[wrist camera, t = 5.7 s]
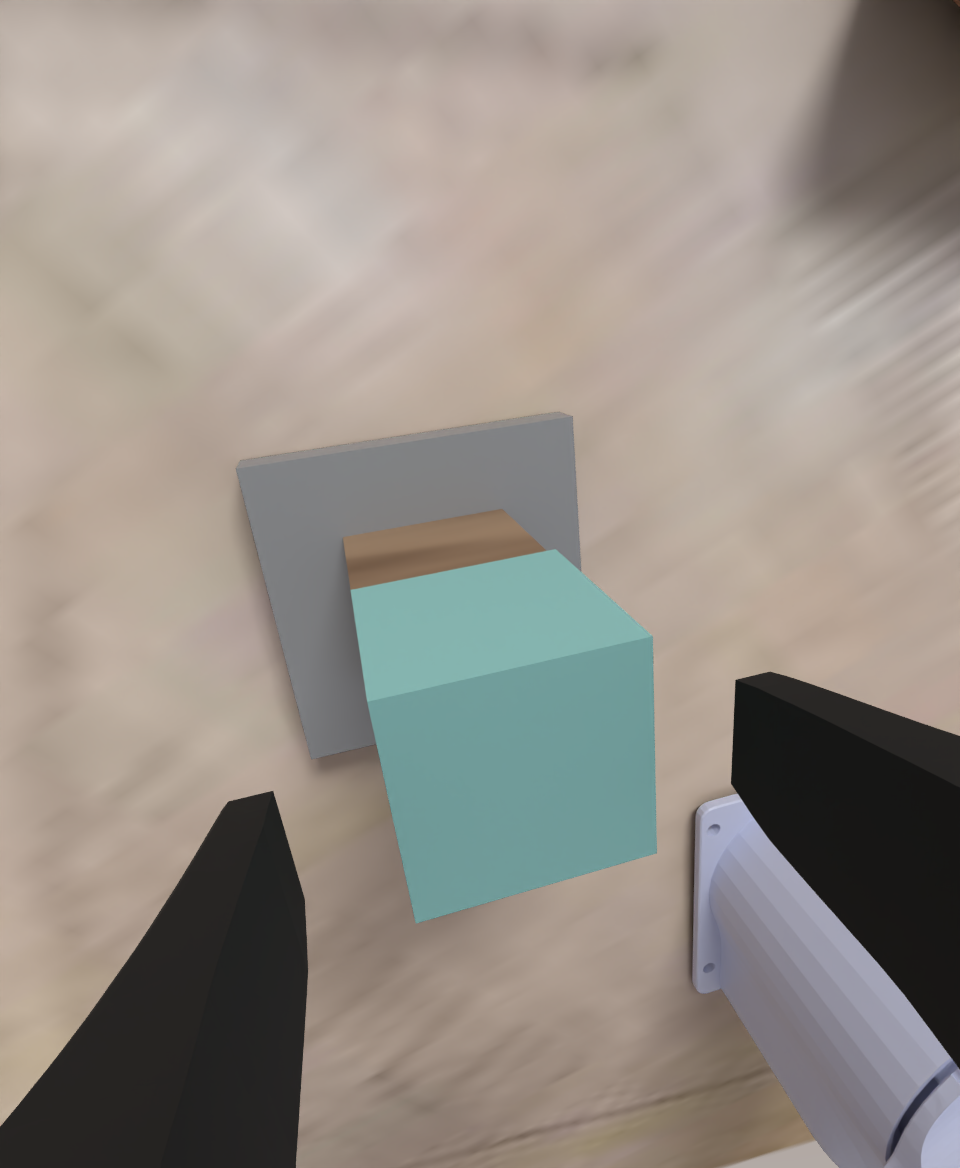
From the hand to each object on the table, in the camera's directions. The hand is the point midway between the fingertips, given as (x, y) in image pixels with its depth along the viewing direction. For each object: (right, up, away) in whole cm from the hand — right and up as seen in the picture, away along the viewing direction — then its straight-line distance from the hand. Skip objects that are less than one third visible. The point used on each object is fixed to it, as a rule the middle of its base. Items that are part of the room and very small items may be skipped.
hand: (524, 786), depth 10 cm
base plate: (-2, +3, +8) cm, 9 cm away
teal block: (-1, +2, +3) cm, 4 cm away
